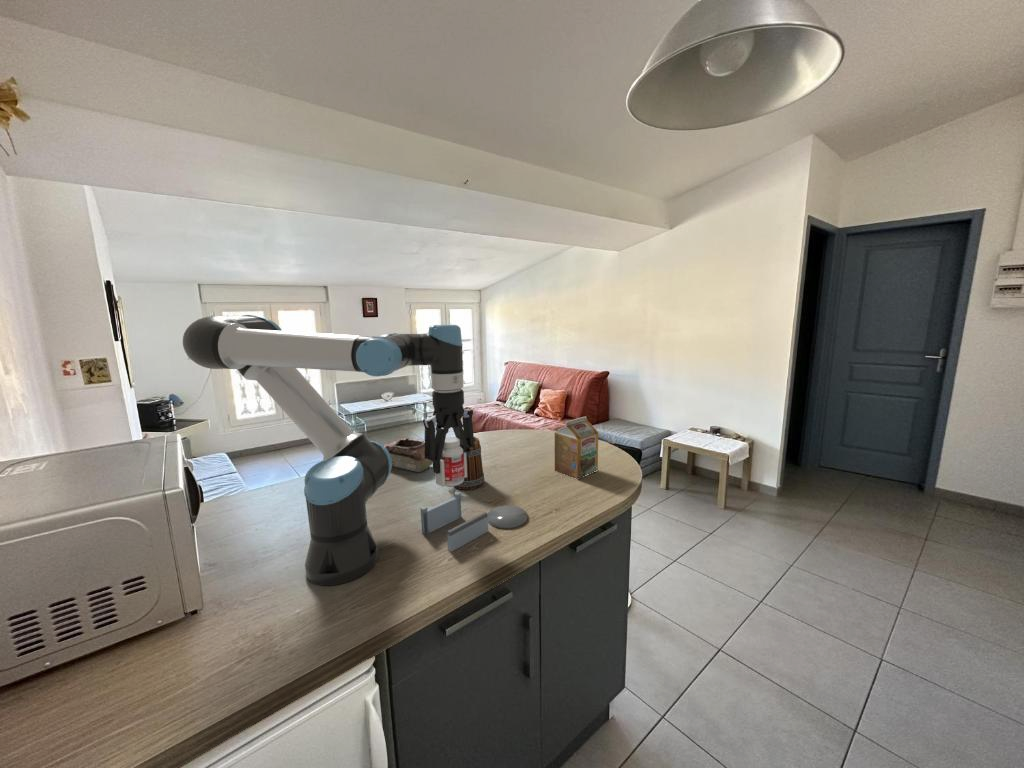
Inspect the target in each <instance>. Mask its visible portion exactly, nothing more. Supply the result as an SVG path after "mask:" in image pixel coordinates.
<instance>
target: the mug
mask: <svg viewBox="0 0 1024 768" xmlns="http://www.w3.org/2000/svg"><path fill="white" fill-rule="evenodd" d="M470 449H471V452H468V463H467V477H466V478H464V481H463V482H462V483H461V484H459V485H456V486H454V487H455V488H456V489H458V490H461V491H462V490H463V491H471V490H475V489H479V488H480V487H482V486H483V484H484V483H485V473H484V469H483V468H484V467H483V460H482V445H481V441H480V439H479V438H478V437H476V436H474V447H471V448H470Z"/></svg>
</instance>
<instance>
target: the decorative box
mask: <svg viewBox="0 0 1024 768" xmlns="http://www.w3.org/2000/svg"><path fill="white" fill-rule="evenodd" d="M383 446H384V447H385V448H386V449H387V450H388V452H389V454H390V456H391V460H392V465H393V466H394V467H395V468H399V469H403V470H406V471H407V470H409V471H411V472H416V473H421V472H422V471H426V470H427V469H428V467H431V466H433V463H432V461H431V460H428V459H426V458H425V439H421V438H417V437H416V438H415V437H413V438H412V437H405V438H399V439H397V440H395V441H391V442H387V443H386V444H384V445H383Z"/></svg>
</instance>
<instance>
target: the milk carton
mask: <svg viewBox="0 0 1024 768" xmlns="http://www.w3.org/2000/svg"><path fill="white" fill-rule="evenodd" d="M564 425H565V426H562V427H560V428H558V429H556V431H555V432H554V472H556V471H557V473H558V474H561V473H562V474H561V475H564V474H565V475H564V476H566V475H568V476H570V477H569V478H571V477H573V478H576V479H578V478H581V477H583V476H585V475H587V474H590V473H592V472H594V471H596V470H599V465H598V464H599V462H598V461H599V432H598V431H597V429H596V428H595V426H594V425H592V423H590V421H588V418H587V416H582V417H578V418H575V419H571V420H567V421H565V424H564ZM568 476H567V477H568ZM573 478H572V479H573ZM576 479H575V480H576ZM581 479H582V478H581Z"/></svg>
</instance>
